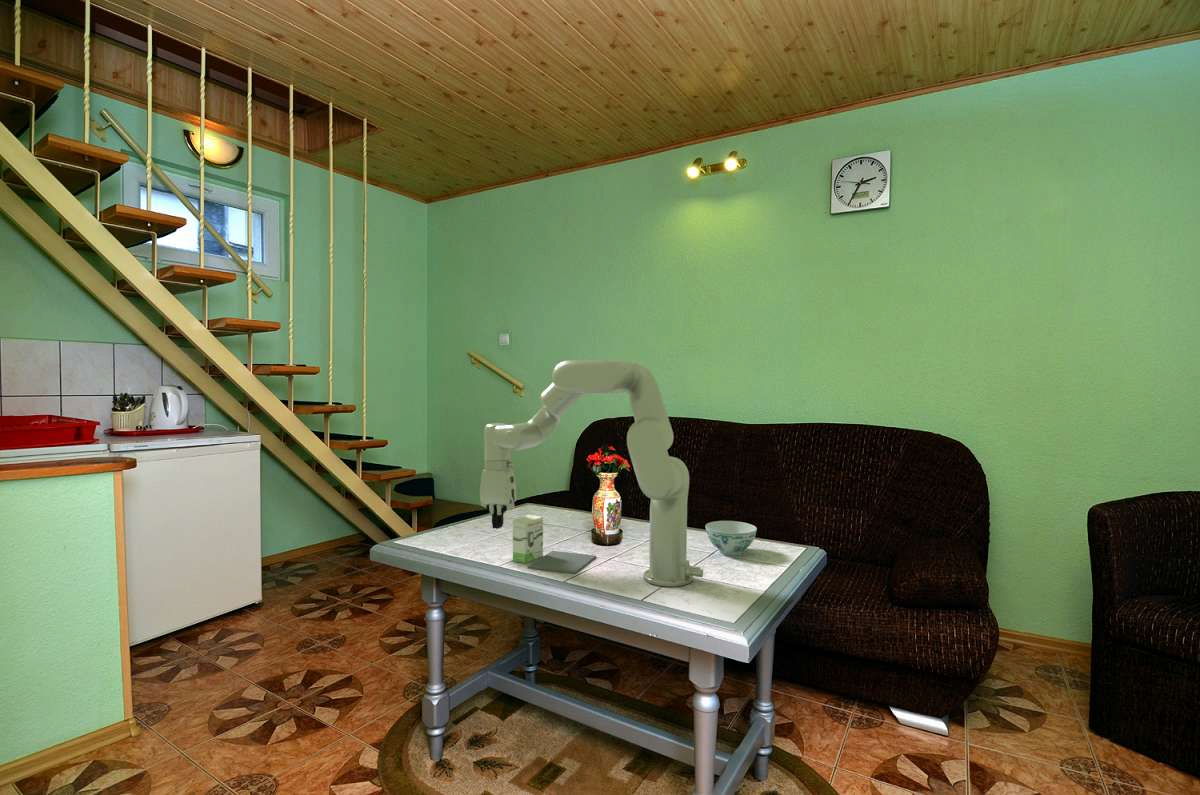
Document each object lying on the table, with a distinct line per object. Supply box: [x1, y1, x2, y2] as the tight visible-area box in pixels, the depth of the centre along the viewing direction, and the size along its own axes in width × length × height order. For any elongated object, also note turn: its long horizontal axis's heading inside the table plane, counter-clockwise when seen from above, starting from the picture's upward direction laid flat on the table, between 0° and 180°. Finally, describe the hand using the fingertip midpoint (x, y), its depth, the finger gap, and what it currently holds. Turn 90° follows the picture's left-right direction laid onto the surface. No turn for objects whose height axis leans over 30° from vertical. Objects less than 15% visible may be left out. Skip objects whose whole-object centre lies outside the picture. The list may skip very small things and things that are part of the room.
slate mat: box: [527, 550, 597, 575], centre depth 165 cm, size 14×16×1 cm
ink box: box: [512, 514, 544, 564], centre depth 169 cm, size 9×5×12 cm, turn 149°
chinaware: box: [705, 520, 758, 557], centre depth 176 cm, size 15×15×8 cm
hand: (497, 527), depth 172 cm, fingers closed
